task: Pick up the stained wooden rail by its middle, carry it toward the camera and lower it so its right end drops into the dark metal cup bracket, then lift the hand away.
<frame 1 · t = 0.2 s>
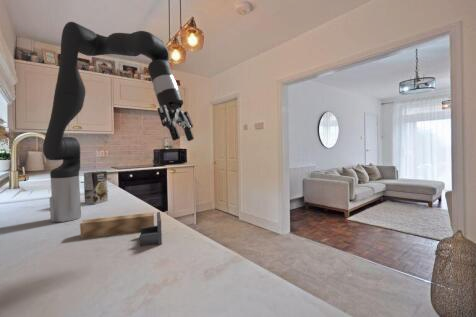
hand: (184, 139, 74), 31 cm above the counter, tool tilted 20°, fingers open, 8 cm apart
coffee box: (96, 202, 122), on the counter
cup bracket: (149, 239, 72), on the counter
rail: (120, 232, 80), on the counter
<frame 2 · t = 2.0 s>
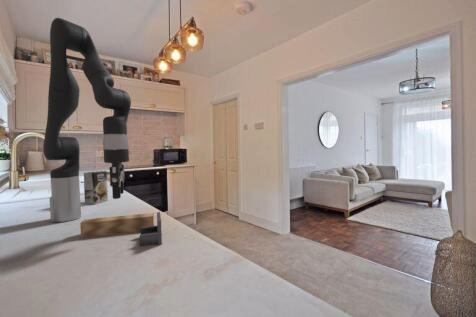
hand: (118, 195, 79), 12 cm above the counter, tool pointing down, fingers open, 8 cm apart
nothing on the counter moved.
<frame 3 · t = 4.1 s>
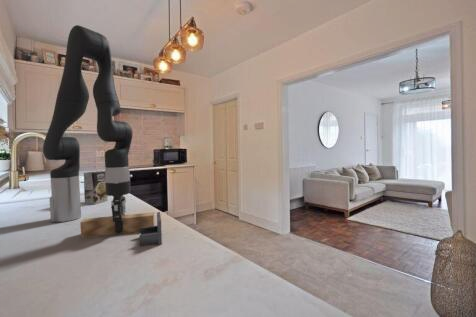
hand: (120, 229, 79), 1 cm above the counter, tool pointing down, fingers closed on rail, 4 cm apart
rail: (120, 231, 79), on the counter, touching gripper
everything else where it was.
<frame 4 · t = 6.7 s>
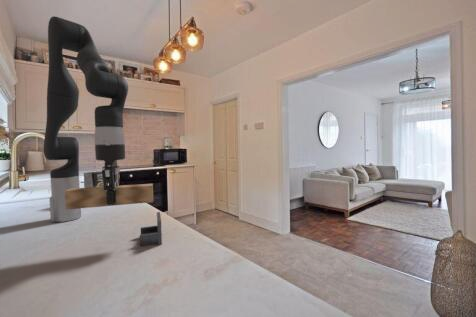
hand: (112, 201, 68), 13 cm above the counter, tool pointing down, fingers closed on rail, 4 cm apart
rail: (113, 204, 68), point 12 cm above the counter, touching gripper
everything else where it was.
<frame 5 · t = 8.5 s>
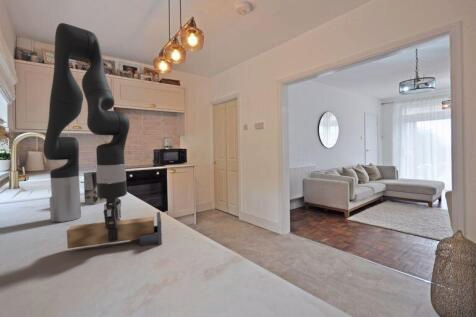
hand: (114, 237, 68), 2 cm above the counter, tool pointing down, fingers closed on rail, 4 cm apart
rail: (114, 239, 68), point 2 cm above the counter, touching gripper
everything else where it was.
when the fingers open (2 cm above the counter, at t = 9.7 s): rail drops 1 cm, on the counter.
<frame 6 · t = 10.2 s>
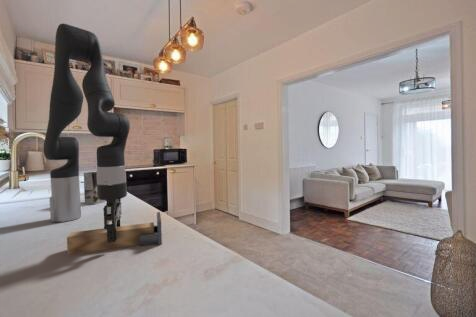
hand: (114, 236, 68), 3 cm above the counter, tool pointing down, fingers open, 8 cm apart
rail: (114, 245, 68), on the counter
everything else where it was.
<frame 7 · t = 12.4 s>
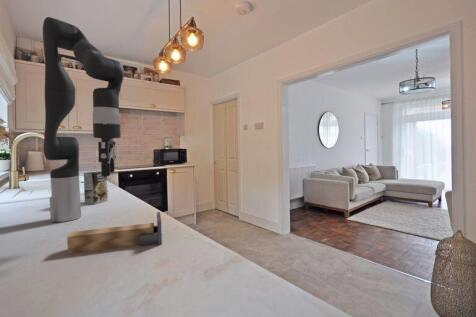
hand: (108, 174, 74), 20 cm above the counter, tool pointing down, fingers open, 8 cm apart
nothing on the counter moved.
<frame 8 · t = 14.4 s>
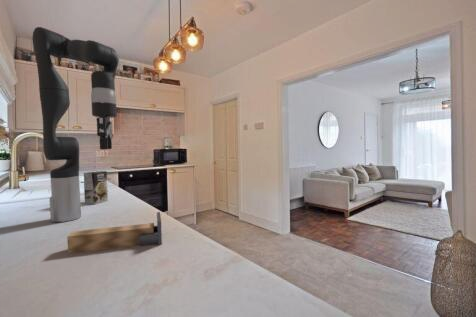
hand: (106, 149, 82), 28 cm above the counter, tool pointing down, fingers open, 8 cm apart
nothing on the counter moved.
at the end: rail 0.1 cm from the target spot on the counter beside the cup bracket, on the counter; rail tilted 0°; the gripper is holding nothing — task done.
